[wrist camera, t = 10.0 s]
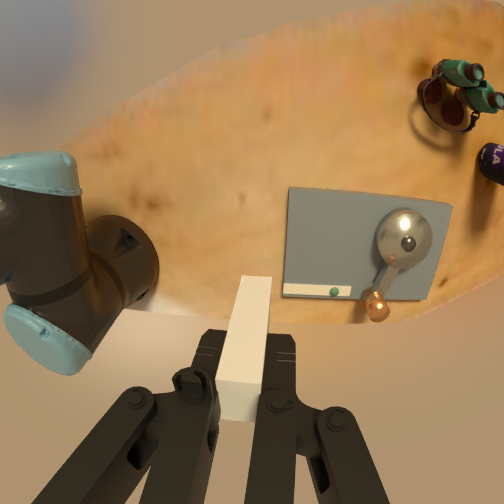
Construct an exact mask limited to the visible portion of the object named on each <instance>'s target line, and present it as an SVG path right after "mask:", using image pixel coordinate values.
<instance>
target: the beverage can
mask: <svg viewBox="0 0 504 504" xmlns="http://www.w3.org/2000/svg"><path fill="white" fill-rule="evenodd" d="M479 166H480V170H481V172H482V174H483V175H484V176H485V177H486V178H488V179H490V180H492V181H494V182H496V183H498V184H500V185H502V186H504V146H502V145H498V144H495V143H487V144H485V145H484V146H483V148H482V149H481V152H480V156H479Z"/></svg>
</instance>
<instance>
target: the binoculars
mask: <svg viewBox="0 0 504 504" xmlns="http://www.w3.org/2000/svg"><path fill="white" fill-rule="evenodd" d="M433 72H434V75H433V76H432V77H431V78H429V79H425V80H423V81H422V82H421V83H420V84H419V86H418V93H419V95H420V98H421V101H422V105H423V108H424V110H425V112H426V113H427V115H428V116H429V117H430V119H431V120H433V121H434V122H435V123H436V124H437V125H439V126H440V127H442V128H443V129H446V128H445V127H443V126H442V125H440V124H439V123H438V122H437V121H436V120H435V119H434V118H433V117H432V115H431V114H430V113H429V111H428V110H427V106H426V103H425V101H426V102H428V103H431V104H435V103H437V102H439V101H440V99H441V96H442V87H441V84H440V83H439V82H447V83H448V84H450V85H452V86H456V87H457V89H456V98H457V100H458V101H457V102H448V103H446V104H444V105H443V107H442V109H441V114H442V117H443V119H444V120H445V122H447V123H448V124H450V125H454V126H457V125H459V124H461V123H462V121H463V119H464V110H463V107H462V105H461V104H467V105H468V107H469V108H470V109H471V110H473V111H474V112H472V114H471V115H470V117H471V122H470V125H469V126H468V128H467V129H465V130H462V131H451V130H448V129H446V130H448V131H450V132H453V133H462V134H464V133H466V132H468V131H471V129H472V128H473V127H475V122H476V120H478V119H479V117H480V113H481V112H484V113H492V114H494V113H497V112H498V110H499V109H501V110H504V93H502V92H495V90H494V89H493V87H492V86H491V85H490V84H489V82H488V81H486V80H483V79H484V69H483V67H482V65H481V64H479V63H475V64H470V63H469V62H467V61H465V60H450V59H443V60H442V61H439V63H438V64H435V65H434V67H433ZM474 113H475V114H478V118H477V116H474V115H473V114H474Z"/></svg>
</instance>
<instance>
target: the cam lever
mask: <svg viewBox="0 0 504 504" xmlns="http://www.w3.org/2000/svg"><path fill="white" fill-rule="evenodd" d="M432 241H433V233H432V229H431V226H430V224H429V223H428V221H427V220H426V219H425V218H424V217H423V216H421V215H420V214H419V213H418V212H417V211H415V210H413V209H410V208H398V209H395V210H392V211H391V212H389V213H388V214H386V215H385V216H384V217H383V219H382V220H381V221H380V223H379V225H378V227H377V229H376V234H375V243H376V247H377V249H378V251H379V253H380V254H381V256H382V258H383V259H384V261H385V263H384V265H383V267H382V269H381V270H380V272H379V274H378V276H377V278H376V280H375V282H374V284H373V285H372V287H369V288H367V289H366V290H365V291H364V293H363V300H364V303H365V306H366V309H367V312H368V315H369V318H370V320H371V321H373V322H381V321H383V320H385V319H386V318H387V317H388V315H389V312H390V311H389V308H388V305H387V303H386V301H385V299H384V296H385V294H386V293H387V291H388V289H389V287H390V286H391V284H392V282H393V280H394V278H395V277H396V275H397V273H398V271H399V269H408V268H411V267H414V266H416V265H417V264H419V263H420V262H421V261H422V260H423V259H424V258H425V257H426V256H427V254H428V253H429V251H430V248H431V245H432Z"/></svg>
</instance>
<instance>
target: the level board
mask: <svg viewBox="0 0 504 504" xmlns="http://www.w3.org/2000/svg"><path fill="white" fill-rule="evenodd" d="M452 207H453V206H451V205H450V204H448V203H444V202H437V201H430V200H423V199H416V198H409V197H401V196H392V195H384V194H375V193H365V192H354V191H343V190H331V189H317V188H302V187H289V203H288V222H287V239H286V255H285V270H284V283H283V296H288V297H309V298H335V299H363V293H364V291H365V290H366V289H367V288H369V287H372V285H373V284H374V282H375V280H376V278H377V276H378V274H379V272H380V270H381V269H382V267H383V265H384V263H385V261H384V259H383V258H382V256H381V254H380V253H379V251H378V249H377V247H376V243H375V234H376V229H377V227H378V225H379V223H380V221H381V220H382V219H383V217H384V216H385V215H386V214H388V213H389V212H391V211H392V210H395V209H398V208H410V209H413V210H415V211H417V212H418V213H419V214H420V215H421V216H423V217H424V218H425V219H426V220H427V221H428V223H429V224H430V226H431V229H432V233H433V241H432V245H431V248H430V251H429V253H428V254H427V256H426V257H425V258H424V259H423V260H422V261H421V262H420V263H419V264H417V265H416V266H414V267H411V268H408V269H399V271H398V273H397V275H396V277H395V278H394V280H393V282H392V284H391V286H390V287H389V289H388V291H387V293H386V294H385V296H384V299H385V300H426V298H427V296H428V293H429V290H430V287H431V284H432V281H433V278H434V275H435V272H436V269H437V266H438V262H439V259H440V256H441V252H442V249H443V245H444V241H445V237H446V233H447V229H448V225H449V221H450V217H451V212H452Z"/></svg>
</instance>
